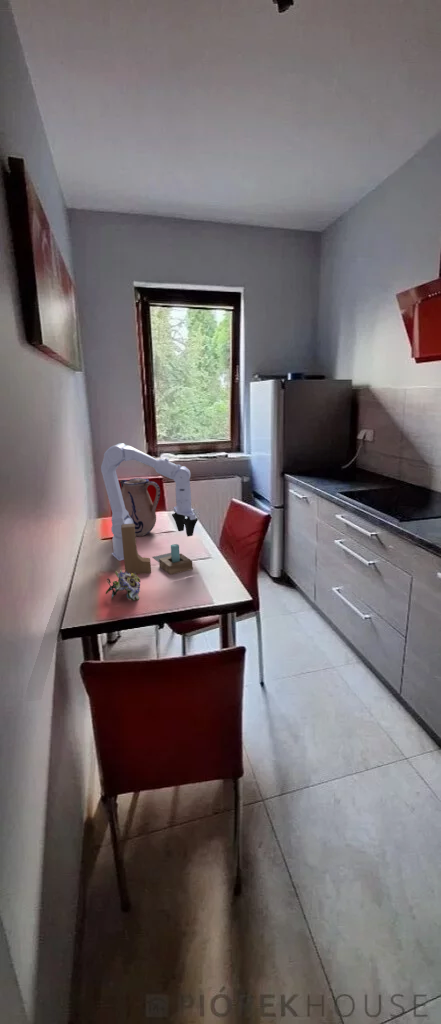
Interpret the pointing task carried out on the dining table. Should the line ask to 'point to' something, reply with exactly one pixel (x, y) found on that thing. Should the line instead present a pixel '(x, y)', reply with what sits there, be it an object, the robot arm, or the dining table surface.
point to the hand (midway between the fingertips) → (185, 533)
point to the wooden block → (133, 552)
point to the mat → (161, 556)
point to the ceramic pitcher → (140, 504)
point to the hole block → (175, 564)
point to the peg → (175, 553)
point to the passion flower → (126, 585)
